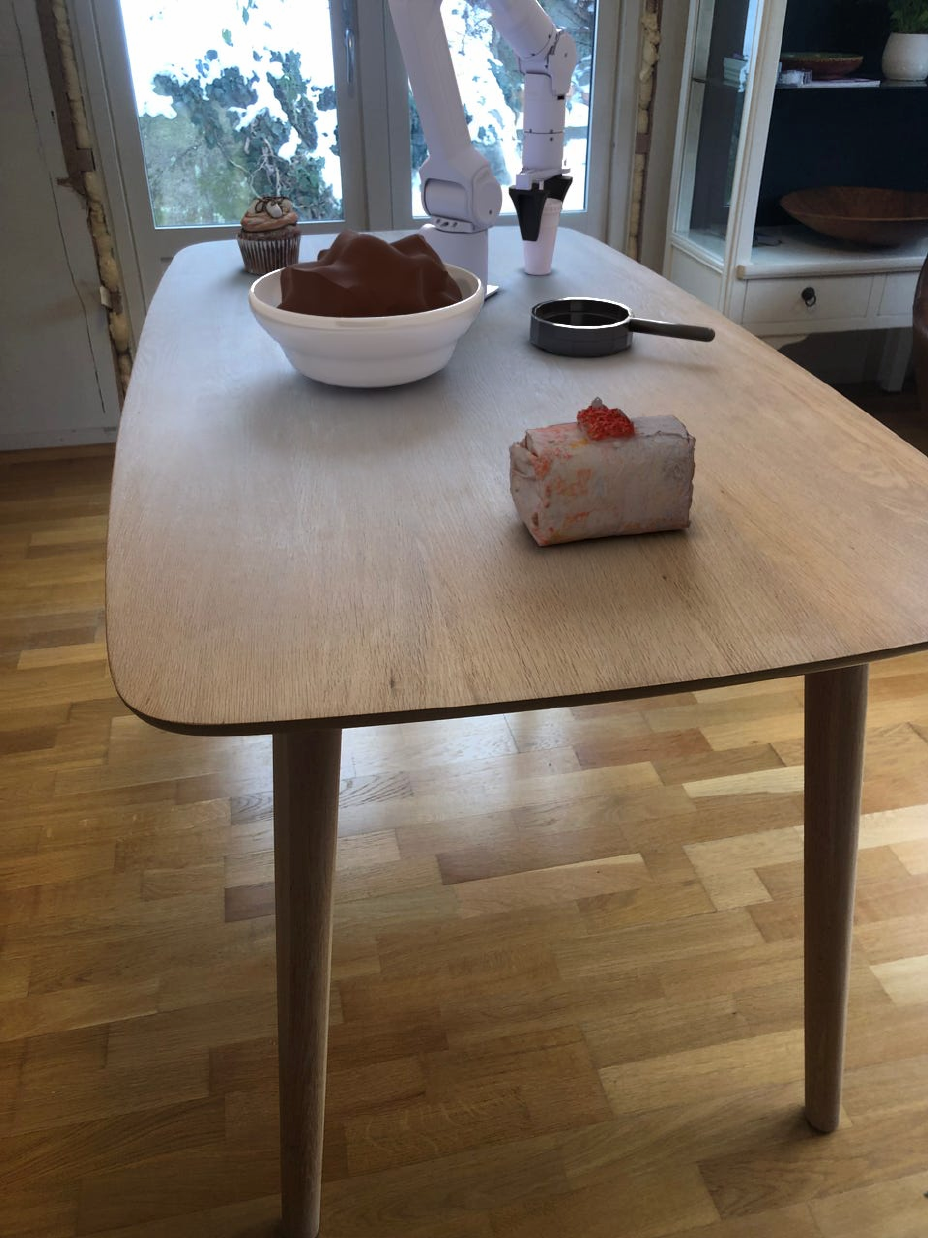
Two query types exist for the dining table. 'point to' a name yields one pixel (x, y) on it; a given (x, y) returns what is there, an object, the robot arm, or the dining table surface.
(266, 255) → the cupcake
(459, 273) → the bowl of chocolate mousse
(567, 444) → the food item
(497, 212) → the robot arm
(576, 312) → the pan
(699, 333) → the pan handle
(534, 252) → the smoothie
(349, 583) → the dining table surface
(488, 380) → the dining table surface
